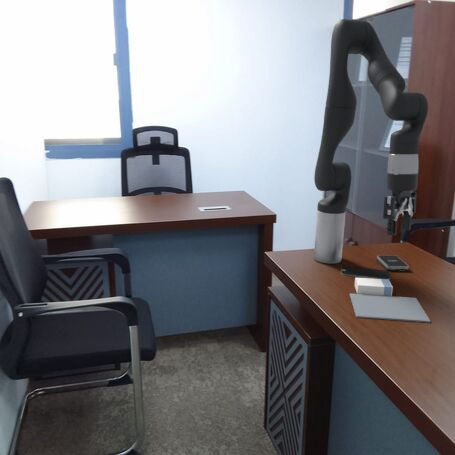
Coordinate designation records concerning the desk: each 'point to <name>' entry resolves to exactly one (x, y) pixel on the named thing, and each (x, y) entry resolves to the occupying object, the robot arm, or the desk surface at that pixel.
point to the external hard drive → (392, 263)
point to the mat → (388, 308)
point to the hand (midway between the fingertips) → (398, 232)
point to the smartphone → (365, 273)
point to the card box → (373, 286)
